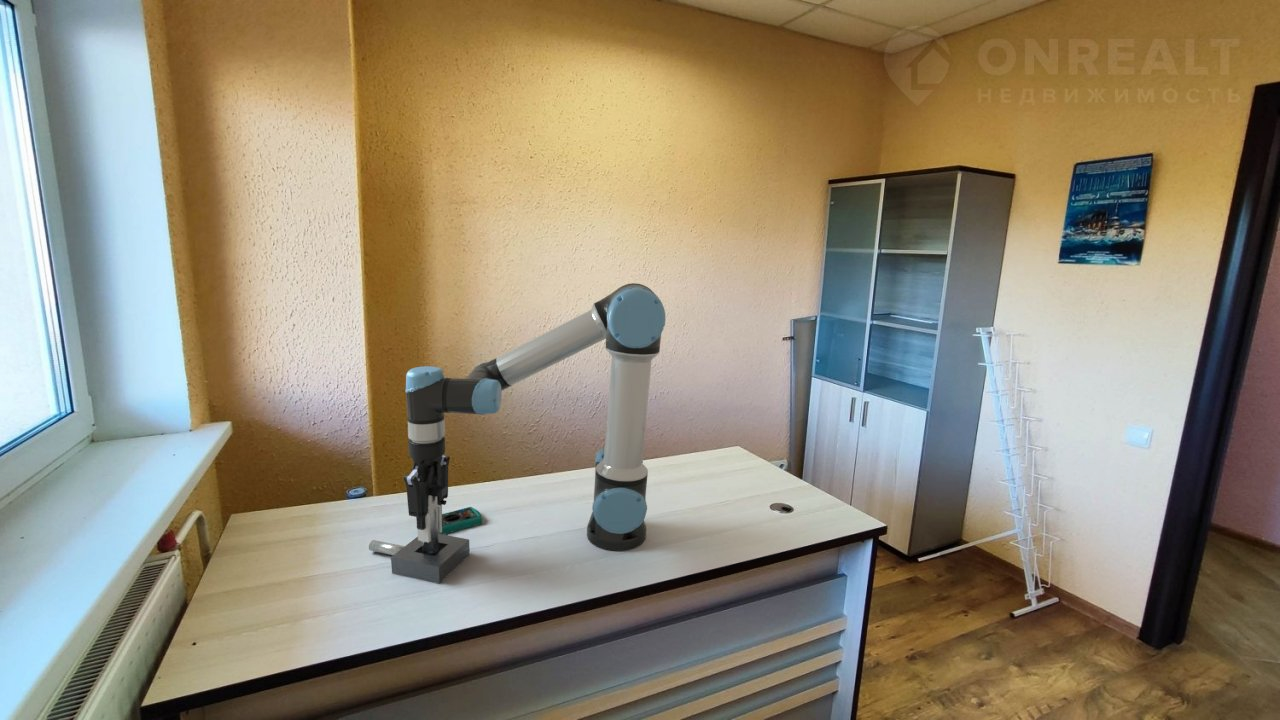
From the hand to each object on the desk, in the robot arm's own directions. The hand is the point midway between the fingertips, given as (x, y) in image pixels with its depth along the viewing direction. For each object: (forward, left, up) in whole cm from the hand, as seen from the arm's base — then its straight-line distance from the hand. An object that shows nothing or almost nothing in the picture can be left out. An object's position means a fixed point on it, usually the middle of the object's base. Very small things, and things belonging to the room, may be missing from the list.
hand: (430, 535), depth 129 cm
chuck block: (+5, 0, -7) cm, 9 cm away
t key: (0, 0, -4) cm, 4 cm away
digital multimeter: (+6, -17, -8) cm, 19 cm away
